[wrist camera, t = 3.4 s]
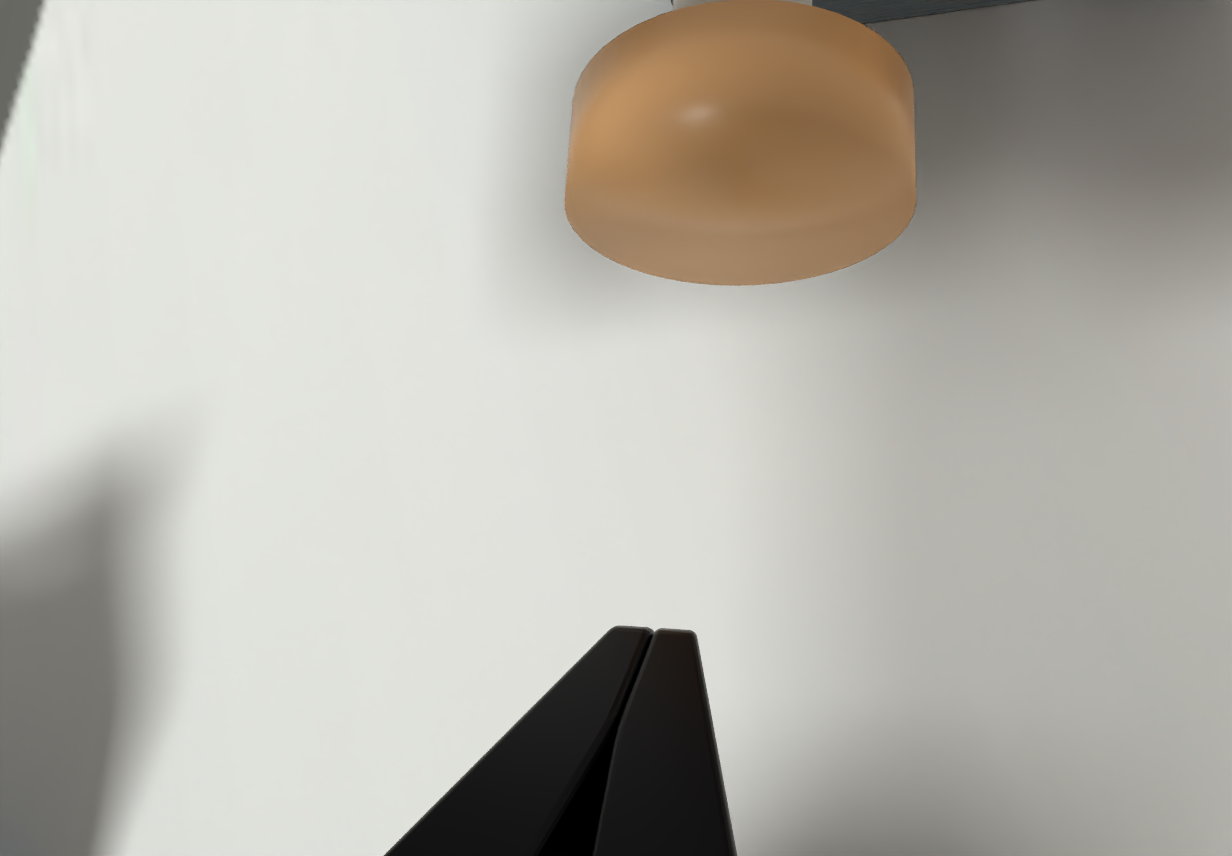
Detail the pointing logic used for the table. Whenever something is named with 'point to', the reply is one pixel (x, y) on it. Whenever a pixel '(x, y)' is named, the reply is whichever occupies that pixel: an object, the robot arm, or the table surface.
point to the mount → (899, 7)
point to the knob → (742, 144)
